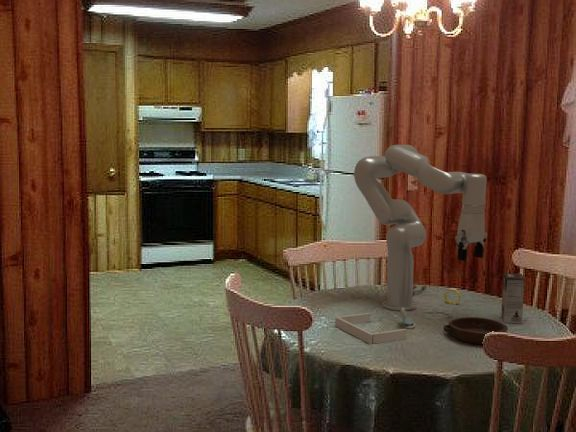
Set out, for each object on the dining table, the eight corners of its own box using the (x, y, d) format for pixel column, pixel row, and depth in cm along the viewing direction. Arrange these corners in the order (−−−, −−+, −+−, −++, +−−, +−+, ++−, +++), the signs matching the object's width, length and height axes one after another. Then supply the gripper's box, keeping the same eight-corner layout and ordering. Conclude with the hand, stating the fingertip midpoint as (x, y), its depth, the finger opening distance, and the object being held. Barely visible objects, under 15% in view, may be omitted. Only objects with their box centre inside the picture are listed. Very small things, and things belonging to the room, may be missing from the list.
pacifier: (417, 325, 225) (399, 322, 227) (418, 307, 224) (401, 305, 226) (413, 330, 218) (395, 328, 220) (414, 312, 217) (396, 310, 219)
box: (335, 325, 222) (335, 317, 222) (368, 321, 228) (368, 312, 228) (370, 344, 202) (370, 334, 202) (406, 338, 208) (406, 329, 208)
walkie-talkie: (411, 299, 261) (427, 289, 278) (412, 288, 260) (428, 279, 278) (391, 296, 265) (407, 287, 282) (391, 286, 265) (408, 277, 282)
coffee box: (500, 316, 237) (502, 272, 235) (519, 317, 235) (521, 273, 233) (503, 322, 228) (505, 277, 226) (522, 324, 226) (525, 278, 224)
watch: (460, 304, 254) (462, 289, 253) (458, 306, 251) (460, 291, 250) (445, 301, 257) (446, 286, 256) (443, 303, 254) (444, 288, 253)
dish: (451, 327, 222) (451, 313, 222) (518, 337, 211) (519, 322, 211) (435, 340, 207) (436, 325, 207) (507, 352, 196) (508, 336, 196)
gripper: (478, 207, 232) (475, 254, 235) (448, 210, 221) (446, 259, 224) (497, 209, 227) (493, 257, 229) (467, 212, 216) (464, 263, 218)
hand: (470, 258), depth 226 cm, fingers open, 9 cm apart
